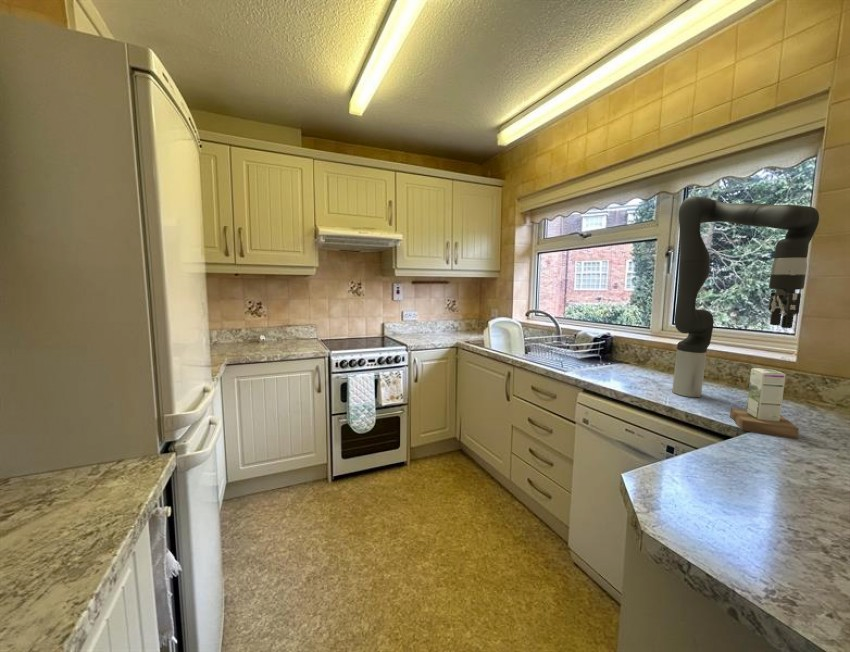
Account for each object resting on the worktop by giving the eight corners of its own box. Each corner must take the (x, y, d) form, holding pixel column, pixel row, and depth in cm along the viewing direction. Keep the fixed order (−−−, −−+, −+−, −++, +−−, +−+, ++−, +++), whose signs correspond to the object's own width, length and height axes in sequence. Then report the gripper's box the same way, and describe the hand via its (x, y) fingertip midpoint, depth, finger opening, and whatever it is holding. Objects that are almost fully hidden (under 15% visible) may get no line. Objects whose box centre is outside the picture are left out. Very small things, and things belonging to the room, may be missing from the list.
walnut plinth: (729, 416, 115) (730, 407, 115) (779, 424, 110) (780, 414, 109) (741, 430, 105) (743, 420, 104) (797, 438, 99) (798, 428, 99)
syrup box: (780, 422, 103) (787, 373, 102) (756, 419, 105) (763, 371, 103) (767, 415, 109) (773, 369, 107) (744, 413, 110) (750, 367, 109)
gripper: (762, 274, 116) (756, 323, 118) (781, 272, 103) (773, 328, 105) (794, 274, 112) (786, 325, 114) (817, 272, 100) (808, 330, 102)
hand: (780, 326), depth 110 cm, fingers open, 8 cm apart
